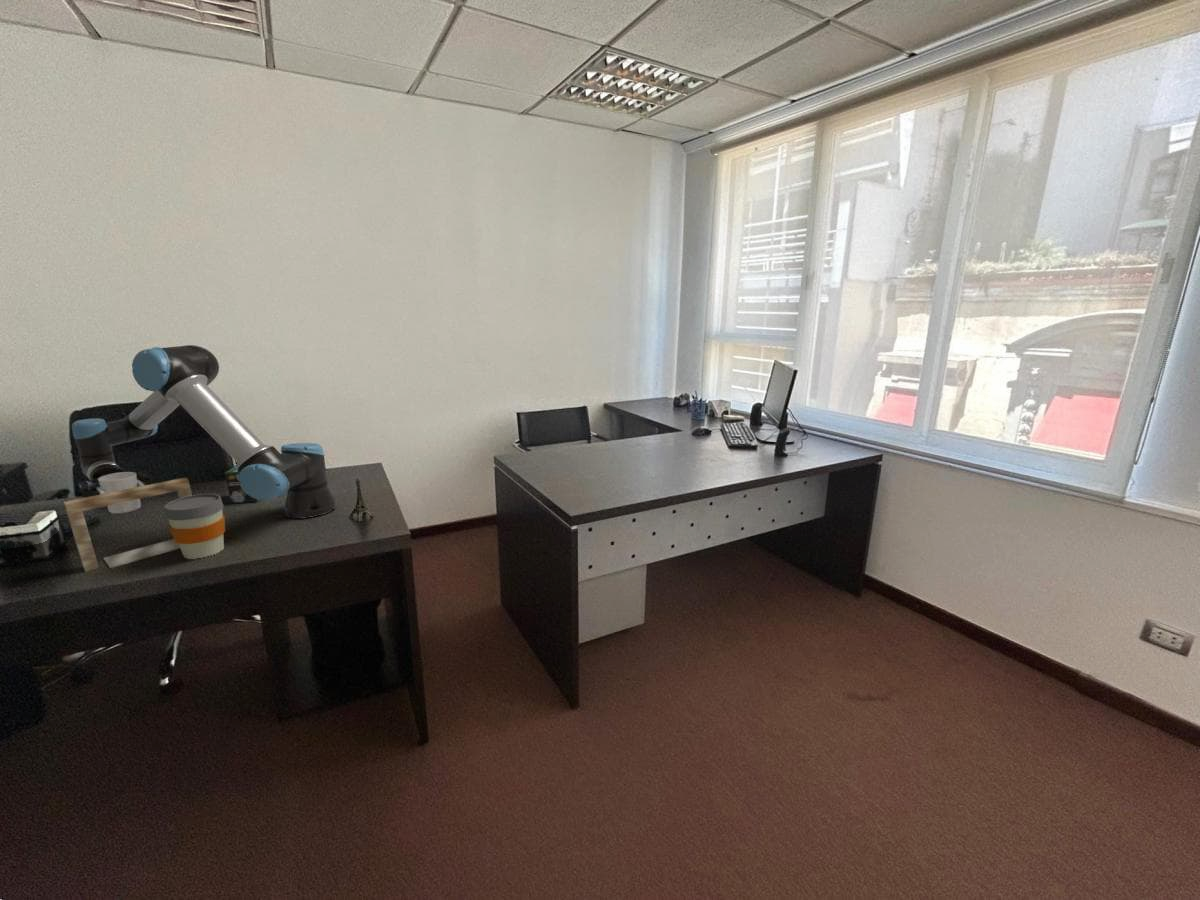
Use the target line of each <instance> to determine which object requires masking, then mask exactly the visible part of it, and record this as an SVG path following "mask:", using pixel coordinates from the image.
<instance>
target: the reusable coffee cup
mask: <svg viewBox="0 0 1200 900" xmlns="http://www.w3.org/2000/svg"><path fill="white" fill-rule="evenodd" d="M223 510H224V504H223V501H222V497H221V495H220V494H216V493H199V494H192V495H191V496H186V497H182V498H177V499H173V500H171V501H169V502H167V503H166V504H165V505H164V513H165V514H164V517H165V519H167V520H168V523H169V526H168V528H169V530H170V532H171V535H172V537H173V539H174V540H175V541H176V542H177V543H178V544H179V546H180V551H181V553H182V555H183V558H185V559H186V558H187V560H198V559H197V558H201V559H204V558H203V557H206V558H208V557H207V556H209V557H211V556H210V555H212V556H214V555H213V554H215V555H217V554H219V553H220V551H221V550H222V551H223V550H224V549H225V542H224V540H225V539H224V533H225V532H226V520H225V518H226V517H225V514H224V511H223ZM222 551H221V552H222ZM218 552H219V553H218ZM216 553H217V554H216Z"/></svg>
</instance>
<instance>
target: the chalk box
mask: <svg viewBox="0 0 1200 900" xmlns="http://www.w3.org/2000/svg"><path fill="white" fill-rule="evenodd" d="M234 463H235V465H236V466H235V467H234V466H233V467H232V468H230V469H228V470H226V471H225V472H224V477H225V483H226V486H227V491H228V495H229V500H230V503H231V504H235V503H245V504H246V503H259V502H260V501H261V500H258V499H255V498H252V497H251V496H249V495H248V494H246V493H245V492H244V491H243V489H242V488H241V486H240V483H241V482H240V481H239V474H240V473H239V472H238V471H237V462H236V461H235V460H234Z"/></svg>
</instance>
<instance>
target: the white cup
mask: <svg viewBox="0 0 1200 900" xmlns="http://www.w3.org/2000/svg"><path fill="white" fill-rule="evenodd" d="M98 481H99V484H100V488H101V489H102V490H103V491H104V492H105V494H106V493H111V492H116V491H121V490H126V489H130V488H135V487H138V482H137V476H136V473H135V472H134V471H124V472H119V473H113V474H108V475H105V476H102V477H100V478H98ZM141 506H142V503H141V499H137V500H132V501H128V502H123V503H118V504H114V505H109V506H107V509H108V512H109V513H111V514H123V513H125V514H126V513H129V512H132V511H136V510H138V509H140V508H141Z"/></svg>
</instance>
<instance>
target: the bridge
mask: <svg viewBox="0 0 1200 900" xmlns="http://www.w3.org/2000/svg"><path fill="white" fill-rule="evenodd" d="M173 492H177V493H176V494H177V497H178V498H177V499H179V498H182V497H186V496H191V495H193V493H192V489H191V485H190V480H189V479H188V478H187V477H181V478H175V479H171V480H167V481H166V480H165V481H161V482H157V483H156V482H155V483H152V484H150V485H145V486H140V487H135V488H130V489H126V490H121V491H116V492H111V493H106V494H101V495H96V496H89V497H86V498H83V497H81V498H76V499H71V500H67V501H63V505H64V508H65V512H66V515H67V517H68V521H69V525H70V527H71V531H72V534H73V535H72V536H73V538H74V541H75V544H76V548H77V551H78V555H79V558H80V561H81V565H82V569H83V570H84V572H90V571H94V570H97V569H99V567H100V566H99V564H98V560H97V557H96V553H95V550H94V546H93V543H92V538H91V536H90V533H89V528H88V526H87V525H88V524H87V521H86V518H85V516H84V511H89V510H93V509H94V510H95V509H98V508H99V509H100V508H103V507H104V508H105V507H108V506H109V505H114V504H118V503H123V502H128V501H132V500H137V499H140V500H141V499H145V498H151V497H155V496H156V497H157V496H160V495H163V494H169V493H173ZM179 549H180V550H181V548H180V546H179V544H178V543H177V542H176V541H175V540H174V538H172V539H168V540H164V541H160V542H156V543H154V544H149V545H145V546H143V547H142V546H141V547H139V548H136V549H131V550H128V551H124V552H120V553H116V554H113V555H110V556H109V555H108V556H105V557H103V560H104V562H105V563H106V565H107V566H108V567H109V569H113V568H117V567H120V566H124V565H127V564H131V563H134V562H137V561H140V560H144V559H148V558H151V557H155V556H158V555H162V554H166V553H169V552H173V551H177V550H179Z"/></svg>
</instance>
